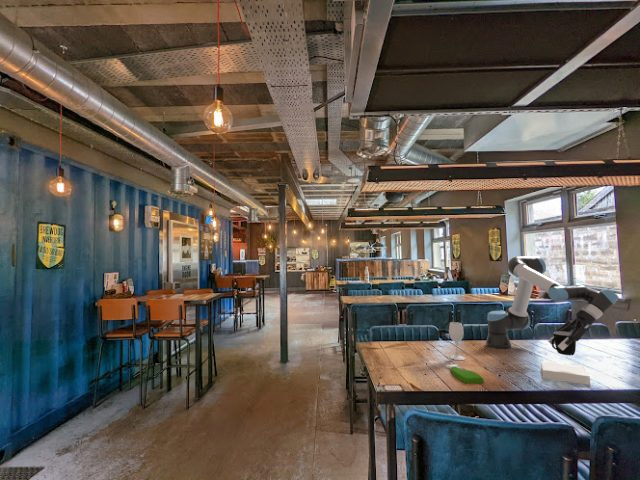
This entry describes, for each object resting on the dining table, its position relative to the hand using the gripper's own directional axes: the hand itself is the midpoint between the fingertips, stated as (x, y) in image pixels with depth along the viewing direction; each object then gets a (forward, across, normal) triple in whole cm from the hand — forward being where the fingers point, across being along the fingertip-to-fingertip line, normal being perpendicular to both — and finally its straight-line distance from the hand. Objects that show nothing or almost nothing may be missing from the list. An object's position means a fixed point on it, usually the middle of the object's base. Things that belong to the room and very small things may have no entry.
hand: (555, 345), depth 161 cm
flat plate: (+8, 0, -13) cm, 15 cm away
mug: (+1, 0, -5) cm, 5 cm away
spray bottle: (+44, -5, +22) cm, 49 cm away
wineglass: (+41, +23, +20) cm, 51 cm away
